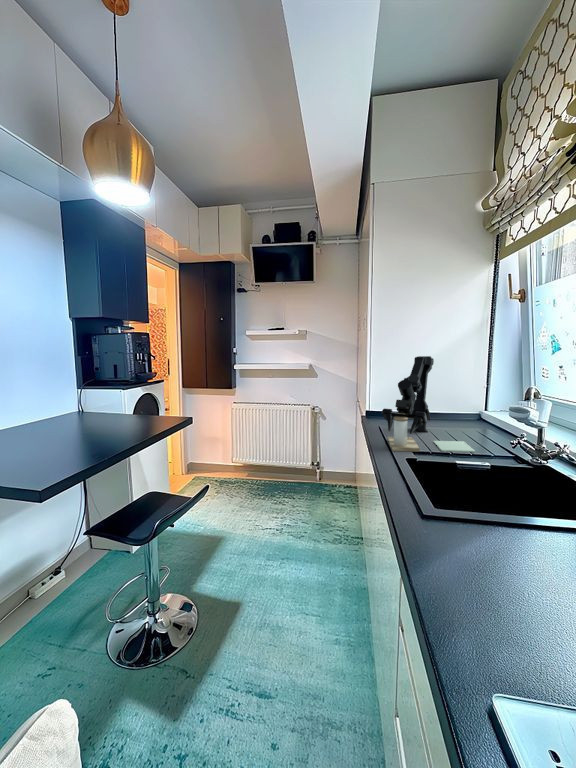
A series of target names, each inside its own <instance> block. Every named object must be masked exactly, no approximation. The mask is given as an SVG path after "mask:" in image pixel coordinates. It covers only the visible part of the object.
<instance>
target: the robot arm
mask: <svg viewBox="0 0 576 768" xmlns="http://www.w3.org/2000/svg"><path fill="white" fill-rule="evenodd" d="M434 361H435V360H434V358H432V356H431V355H430V356H429V355H426V356H425V355H424V356H423V355H421V356H420V355H419V356H415V357H414V363H413V366H412V369H411V371H410V374H409V376H407V377H404V378H403V379H402V380H400V381H399V382H398V383H397V387H398V391H399V393H400V396H402V397H401V399H395V400H396V401H395V405H394V406H395V408H396V411H397V412H396V411H393V409H392V408H385V407H384V408H383V409H382V410H381V415H382V417H383V419H384V420H386V422H387V429H388V430H387V431H389V432H391V430H392V425H393V424H394V417H395V416H405V417H408V420H409V419H411V420H413V421H412V424H411V427H410V431H409V434H410V435H413V433H414V432H415V431H419V432H418V433H428V432H429V430H428V429H427V423H428V421H431V412H430V411H429V410H430V409H429V405H428V404H427V402H426V395H427V388H428V387H427V386H428V377H429V373H430V372H431V370H432V369H433V366H434Z"/></svg>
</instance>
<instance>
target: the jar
mask: <svg viewBox="0 0 576 768" xmlns="http://www.w3.org/2000/svg"><path fill="white" fill-rule="evenodd" d="M408 420H409V419H408V417H405V416H395V417H394V418H393V437H394V445H396V446H407V437H408V425H409V424H408Z"/></svg>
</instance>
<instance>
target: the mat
mask: <svg viewBox="0 0 576 768" xmlns="http://www.w3.org/2000/svg"><path fill="white" fill-rule="evenodd" d="M432 442H433V443H434V445H435V446H436V445H437V446H436V447H437V448H438V450H439V451H441V452H452V453H453V452H454V453H455V452H458V453H476V450H475V449H474V448H472V447H471V446H470V445H469V444H467V442H466V441H463V440H462V441H460V440H459V441H458V440H455V441H454V440H451V441H450V440H433V441H432Z"/></svg>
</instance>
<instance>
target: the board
mask: <svg viewBox="0 0 576 768" xmlns="http://www.w3.org/2000/svg"><path fill="white" fill-rule="evenodd" d="M387 441H389V442H388V445H389V447H390V448H391V451H392V452H413V453H414V452H415V453H418V452H419V453H420V449H421V448H420V447H419V445H418V444H417V442H416V440H415V439H414V438H413V437H410V436H409V437H408V436H407V446H396V445H394V436H387Z"/></svg>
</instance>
